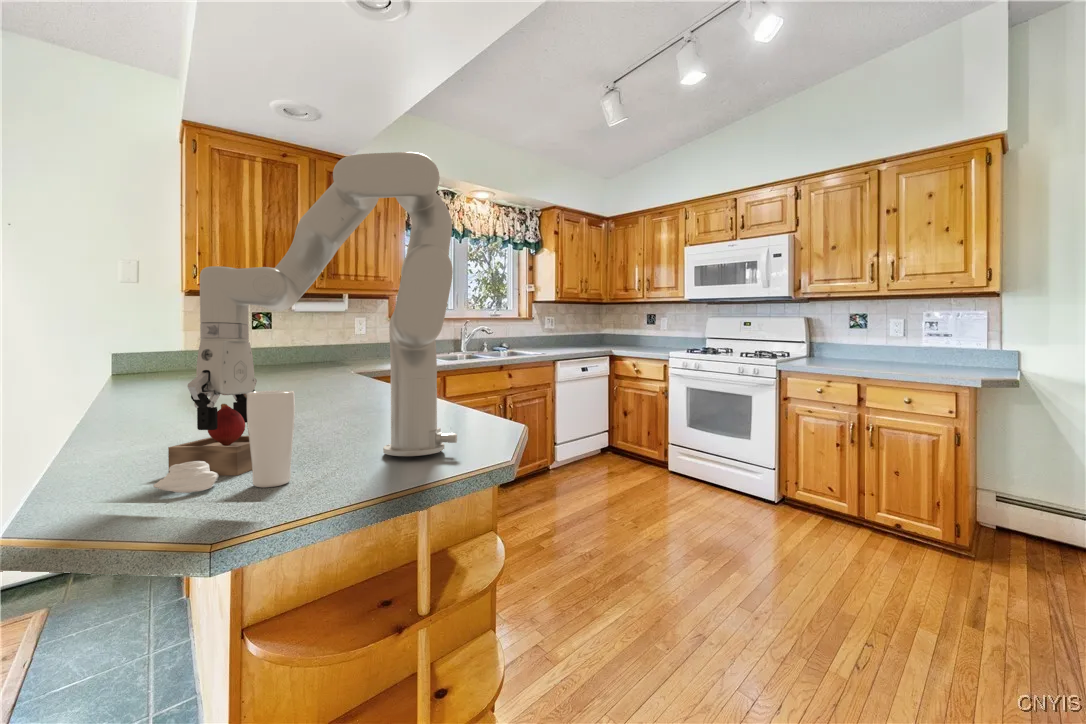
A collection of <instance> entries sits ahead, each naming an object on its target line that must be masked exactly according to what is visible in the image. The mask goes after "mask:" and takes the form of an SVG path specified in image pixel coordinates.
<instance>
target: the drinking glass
mask: <svg viewBox="0 0 1086 724" xmlns="http://www.w3.org/2000/svg"><path fill="white" fill-rule="evenodd" d="M295 399H296V398H295V391H294V390H258V391H256V390H255V392H248V393H247V423H246V424H247V432H248V433H247V434H248V436H249V443H250V452H251V462H252V470H251V471H252V485H253V486H255V487H256V488H275V487H280V486H283V485H286V484H288V483H289V482H291V477H292V476H291V475H292V472H291V470H292V469H291V466H292V456H293V443H294V434H295V433H294V432H295V431H294V429H295V418H296V415H295V414H296V400H295Z"/></svg>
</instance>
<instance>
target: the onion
mask: <svg viewBox="0 0 1086 724" xmlns="http://www.w3.org/2000/svg"><path fill="white" fill-rule="evenodd" d="M217 423H218V427H217V429H216V430H207V433H208V435H209V436H210V437H212V438H213V439H214V440H216V441H218V442H219V443H221V444H222V445H224V446H229V445H231V444H232V443H233V442H235V441H236V440H237V439H238V438H239V437H240V436H243V434H244V432H245V430H246V423H245V421H244V419H243V417H242V416H241V414H240V413H238V412H237V411H236V410H234V409H233V407H231V406H229V405H228V404H227V403H221V404H220V408H219V410H217Z"/></svg>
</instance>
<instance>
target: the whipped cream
mask: <svg viewBox="0 0 1086 724" xmlns="http://www.w3.org/2000/svg"><path fill="white" fill-rule="evenodd" d="M169 471H170V472H169ZM218 478H219V475H218V474H217V473H215V472H213V471H210V468H209V464H208V463H206V462H204V461H192V462H185V463H181V464H175V465H173V466H171V467H170V468H169V467H168V472H167V473H166V475H165V476H164V477H163V478H161V479H159V480H158V481H157V482H156V483H154V484H153V488H155V489H159V490H161V491H165V492H174V493H180V494H190V493H196V492H202V491H205V490H208V489H209V490H210V489H211V488H213V486H214V485H215V483H217V482H218Z"/></svg>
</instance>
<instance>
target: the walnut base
mask: <svg viewBox="0 0 1086 724" xmlns="http://www.w3.org/2000/svg"><path fill="white" fill-rule="evenodd" d="M167 450H168V452H167V453H168V454H167V456H168V459H167V460H168V469H169V468H170V467H171V466H173V465H175V464H181V463H185V462H192V461H204V462H206V463H208V464H209V468H210V471H213V472H215V473H217V474H218V475H219V476H220V477H221V476H223V477H224V476H225V477H226V476H240V475H242V474H245V473H248V472H251V471H252V462H251V452H250V443H249V435H241V436H240V437H239V438H238V439H237V440H236V441H235V442H233V443H232V444H231V445H229V446H224V445H222V444H221V443H219V442H218V441H216V440H214V439H213V438H212V437H211V436H210V437H206V438H200V439H197V440H193V441H190V442H189V441H188V442H185V443H181V444H176V445H172V446H168V449H167ZM169 472H170V471H169V470H168V473H169Z"/></svg>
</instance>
